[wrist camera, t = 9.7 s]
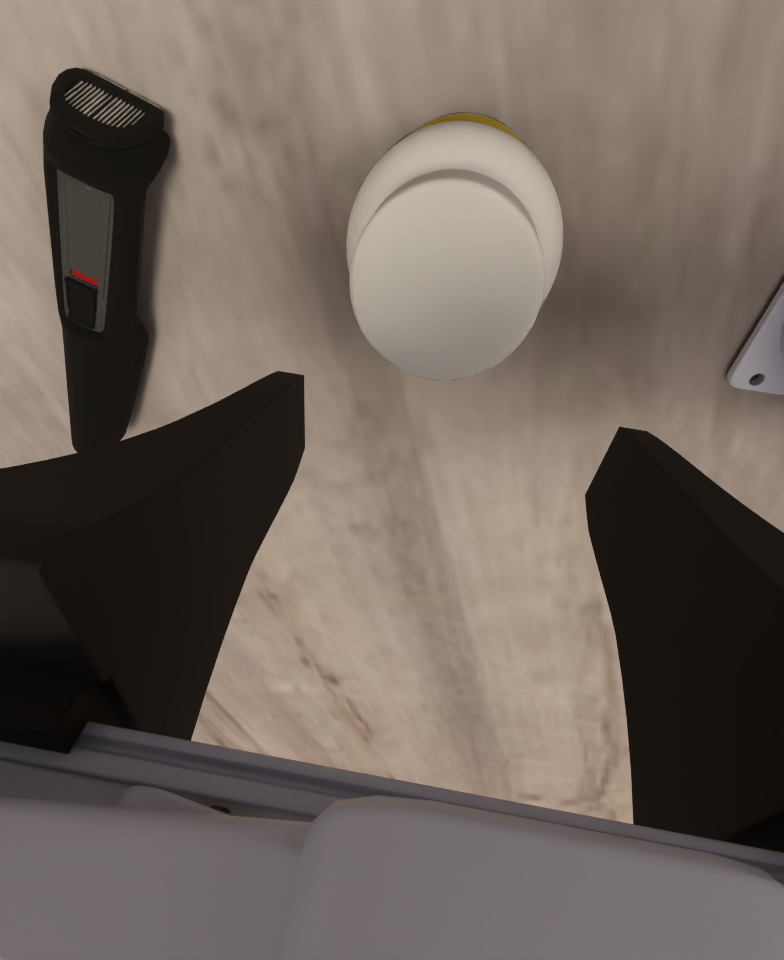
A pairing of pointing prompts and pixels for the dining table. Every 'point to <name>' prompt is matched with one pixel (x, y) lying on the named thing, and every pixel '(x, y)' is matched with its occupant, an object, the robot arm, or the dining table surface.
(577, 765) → the dining table surface
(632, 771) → the robot arm
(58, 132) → the electric trimmer
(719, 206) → the dining table surface
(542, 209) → the supplement bottle
